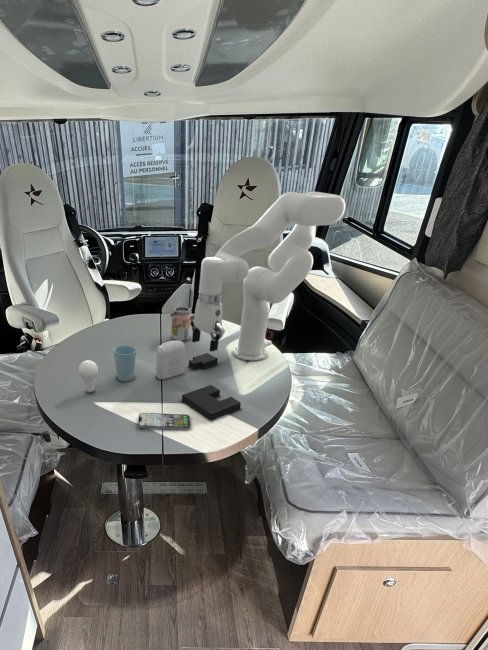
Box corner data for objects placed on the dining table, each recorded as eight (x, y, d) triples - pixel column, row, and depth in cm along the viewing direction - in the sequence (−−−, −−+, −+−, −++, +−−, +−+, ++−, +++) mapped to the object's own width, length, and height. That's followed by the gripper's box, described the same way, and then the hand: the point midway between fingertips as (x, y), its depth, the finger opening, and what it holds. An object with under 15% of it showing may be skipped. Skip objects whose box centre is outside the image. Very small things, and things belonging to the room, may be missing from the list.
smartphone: (190, 428, 126) (138, 426, 126) (190, 431, 127) (138, 429, 127) (189, 414, 132) (139, 412, 132) (188, 417, 133) (139, 415, 133)
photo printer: (178, 369, 159) (179, 336, 152) (185, 373, 156) (187, 340, 149) (154, 376, 154) (154, 343, 147) (161, 381, 151) (161, 347, 144)
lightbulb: (102, 389, 147) (100, 358, 140) (94, 397, 142) (92, 366, 135) (85, 386, 148) (83, 355, 142) (77, 394, 144) (74, 363, 137)
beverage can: (166, 335, 185) (167, 306, 178) (184, 332, 187) (185, 304, 180) (176, 343, 178) (177, 314, 171) (194, 340, 181) (196, 311, 174)
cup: (138, 373, 156) (137, 345, 150) (134, 383, 150) (134, 355, 144) (117, 372, 157) (115, 344, 151) (113, 382, 151) (111, 353, 145)
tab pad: (206, 358, 166) (207, 352, 165) (217, 364, 162) (217, 358, 161) (185, 365, 161) (186, 359, 160) (196, 371, 157) (196, 365, 156)
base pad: (210, 391, 146) (210, 384, 144) (240, 409, 136) (241, 402, 135) (181, 401, 140) (182, 394, 139) (210, 421, 131) (211, 414, 129)
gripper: (235, 302, 144) (228, 352, 154) (201, 289, 155) (197, 336, 165) (218, 306, 140) (212, 356, 150) (184, 292, 152) (181, 340, 162)
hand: (204, 345), depth 158 cm, fingers open, 9 cm apart
